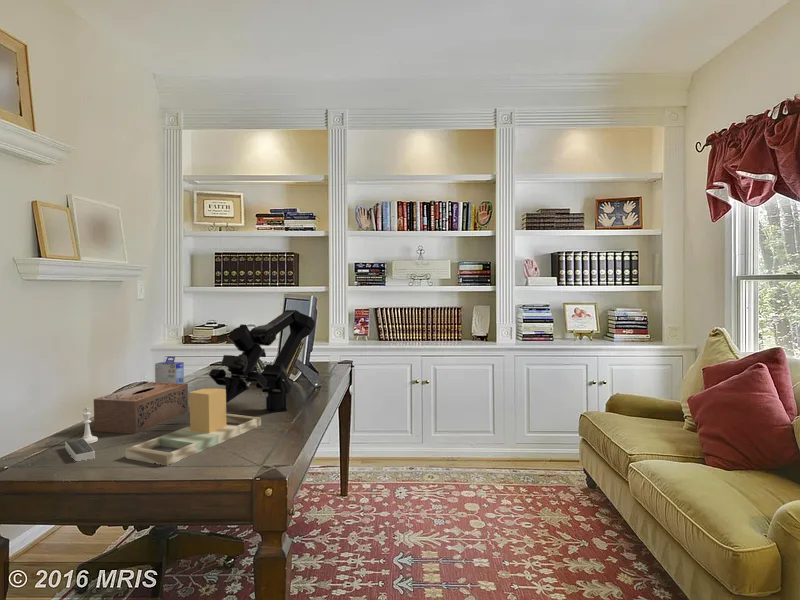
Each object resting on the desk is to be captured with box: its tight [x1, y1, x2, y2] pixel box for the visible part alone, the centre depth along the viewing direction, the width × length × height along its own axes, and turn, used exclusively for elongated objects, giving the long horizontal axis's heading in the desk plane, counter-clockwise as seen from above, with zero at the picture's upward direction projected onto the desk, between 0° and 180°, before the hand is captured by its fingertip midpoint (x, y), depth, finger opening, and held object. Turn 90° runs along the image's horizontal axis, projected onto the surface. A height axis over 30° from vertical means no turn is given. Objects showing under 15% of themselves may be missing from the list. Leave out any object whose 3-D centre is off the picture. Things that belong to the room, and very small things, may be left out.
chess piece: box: [79, 405, 99, 445], centre depth 147 cm, size 5×5×10 cm
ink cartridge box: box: [154, 356, 185, 384], centre depth 209 cm, size 10×6×14 cm, turn 78°
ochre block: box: [188, 387, 227, 433], centre depth 151 cm, size 7×7×11 cm
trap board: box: [125, 413, 262, 466], centre depth 148 cm, size 37×14×2 cm, turn 158°
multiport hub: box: [64, 438, 96, 462], centre depth 138 cm, size 4×14×2 cm, turn 41°
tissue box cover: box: [93, 381, 189, 435], centre depth 169 cm, size 26×14×10 cm, turn 168°
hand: (225, 401), depth 157 cm, fingers closed
